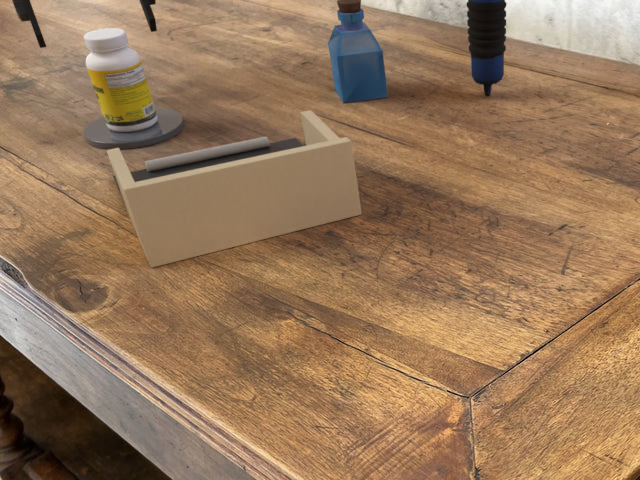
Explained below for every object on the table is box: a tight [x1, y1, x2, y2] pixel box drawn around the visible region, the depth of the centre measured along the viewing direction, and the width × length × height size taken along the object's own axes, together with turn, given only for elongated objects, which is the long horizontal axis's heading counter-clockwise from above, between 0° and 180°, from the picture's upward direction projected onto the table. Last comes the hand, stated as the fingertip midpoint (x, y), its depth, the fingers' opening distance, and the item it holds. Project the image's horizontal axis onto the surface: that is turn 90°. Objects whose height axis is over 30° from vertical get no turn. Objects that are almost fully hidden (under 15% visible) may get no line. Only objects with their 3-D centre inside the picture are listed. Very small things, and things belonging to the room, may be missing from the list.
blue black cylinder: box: [466, 0, 507, 97], centre depth 105 cm, size 8×8×20 cm
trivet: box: [82, 107, 185, 150], centre depth 102 cm, size 12×12×1 cm
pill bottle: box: [83, 27, 157, 132], centre depth 98 cm, size 6×6×11 cm
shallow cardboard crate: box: [106, 109, 363, 269], centre depth 84 cm, size 21×22×8 cm
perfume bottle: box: [327, 0, 389, 104], centre depth 108 cm, size 6×6×12 cm
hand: (98, 33), depth 103 cm, fingers open, 13 cm apart
